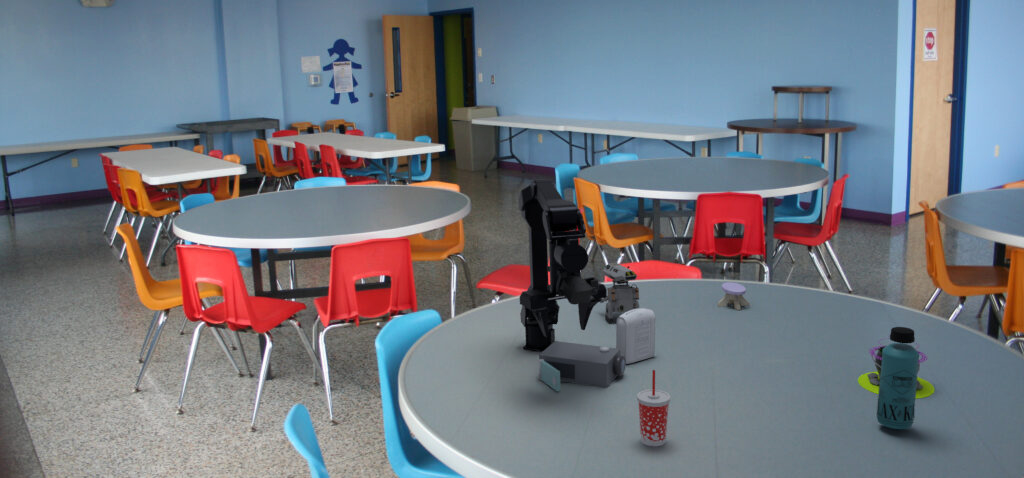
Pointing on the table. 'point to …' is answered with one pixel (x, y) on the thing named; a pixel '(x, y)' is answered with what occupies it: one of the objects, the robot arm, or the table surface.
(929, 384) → the toy cauldron
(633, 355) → the photo printer
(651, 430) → the beverage cup
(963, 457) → the table surface
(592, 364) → the box
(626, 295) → the figurine
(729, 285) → the toy table
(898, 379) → the beverage bottle
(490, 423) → the table surface
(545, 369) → the side door
